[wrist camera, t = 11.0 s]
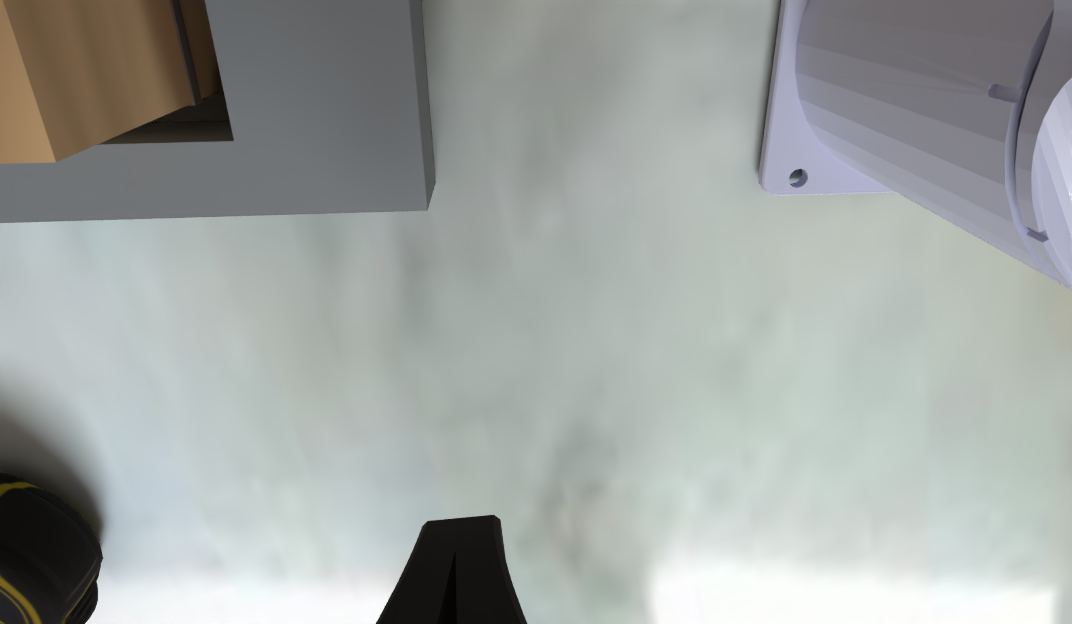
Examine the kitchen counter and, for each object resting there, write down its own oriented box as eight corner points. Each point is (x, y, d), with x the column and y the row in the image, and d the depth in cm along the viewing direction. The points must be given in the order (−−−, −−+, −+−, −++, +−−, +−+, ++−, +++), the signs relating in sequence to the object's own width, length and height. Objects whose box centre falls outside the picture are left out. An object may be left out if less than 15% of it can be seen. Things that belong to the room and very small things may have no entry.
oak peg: (199, -97, 16) (-44, -152, 9) (236, 87, 18) (60, 165, 11) (17, -95, 16) (-379, -148, 9) (73, 90, 18) (-215, 172, 10)
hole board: (403, -219, 15) (386, -252, 13) (435, 182, 19) (427, 210, 17) (-261, -215, 15) (-398, -248, 12) (-85, 196, 19) (-164, 227, 16)
